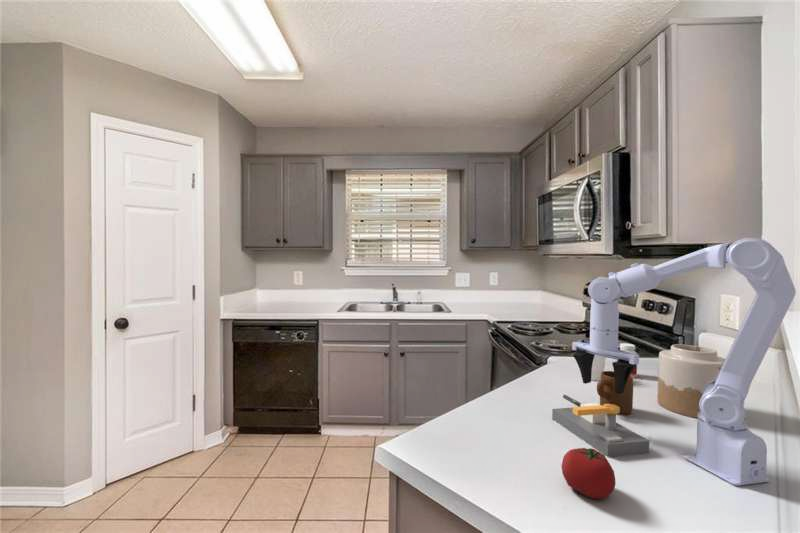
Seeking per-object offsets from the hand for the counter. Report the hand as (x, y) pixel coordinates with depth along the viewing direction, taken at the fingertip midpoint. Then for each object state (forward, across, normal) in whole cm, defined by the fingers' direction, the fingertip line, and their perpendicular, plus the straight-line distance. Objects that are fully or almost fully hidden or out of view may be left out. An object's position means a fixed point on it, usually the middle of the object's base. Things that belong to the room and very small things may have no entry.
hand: (602, 387), depth 84 cm
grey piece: (+10, 0, +2) cm, 10 cm away
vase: (+10, -3, -37) cm, 38 cm away
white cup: (+10, +26, -38) cm, 47 cm away
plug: (+8, +5, -1) cm, 9 cm away
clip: (+4, -2, +6) cm, 7 cm away
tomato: (+10, -12, +24) cm, 29 cm away
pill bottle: (+10, +22, -52) cm, 58 cm away
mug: (+10, +6, -14) cm, 19 cm away
